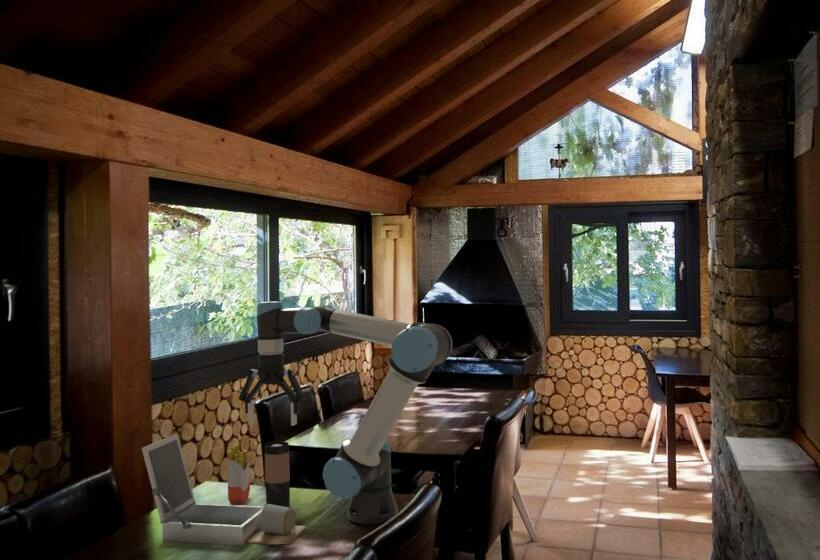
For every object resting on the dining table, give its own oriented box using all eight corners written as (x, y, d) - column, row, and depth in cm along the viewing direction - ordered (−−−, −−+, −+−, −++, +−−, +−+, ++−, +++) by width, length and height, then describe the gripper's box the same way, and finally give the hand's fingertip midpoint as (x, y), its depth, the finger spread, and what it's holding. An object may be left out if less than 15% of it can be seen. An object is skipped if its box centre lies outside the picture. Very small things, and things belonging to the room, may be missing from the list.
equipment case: (268, 523, 204) (266, 435, 204) (240, 547, 186) (238, 450, 186) (176, 519, 210) (174, 433, 210) (140, 541, 192) (138, 448, 192)
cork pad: (306, 528, 199) (306, 526, 199) (289, 545, 187) (289, 542, 187) (267, 526, 202) (267, 524, 202) (247, 542, 189) (247, 540, 189)
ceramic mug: (285, 538, 189) (285, 510, 190) (258, 536, 192) (258, 508, 192) (302, 526, 200) (301, 499, 200) (276, 524, 202) (276, 497, 202)
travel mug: (295, 505, 220) (293, 442, 220) (278, 512, 213) (277, 448, 213) (277, 502, 224) (276, 440, 224) (260, 509, 217) (259, 445, 218)
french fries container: (251, 496, 231) (250, 442, 231) (242, 506, 220) (240, 450, 220) (237, 496, 231) (236, 442, 231) (228, 507, 220) (226, 450, 220)
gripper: (314, 351, 207) (316, 422, 207) (237, 352, 213) (239, 421, 212) (305, 354, 200) (307, 427, 200) (226, 354, 205) (228, 426, 205)
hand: (272, 424), depth 206 cm, fingers open, 13 cm apart
